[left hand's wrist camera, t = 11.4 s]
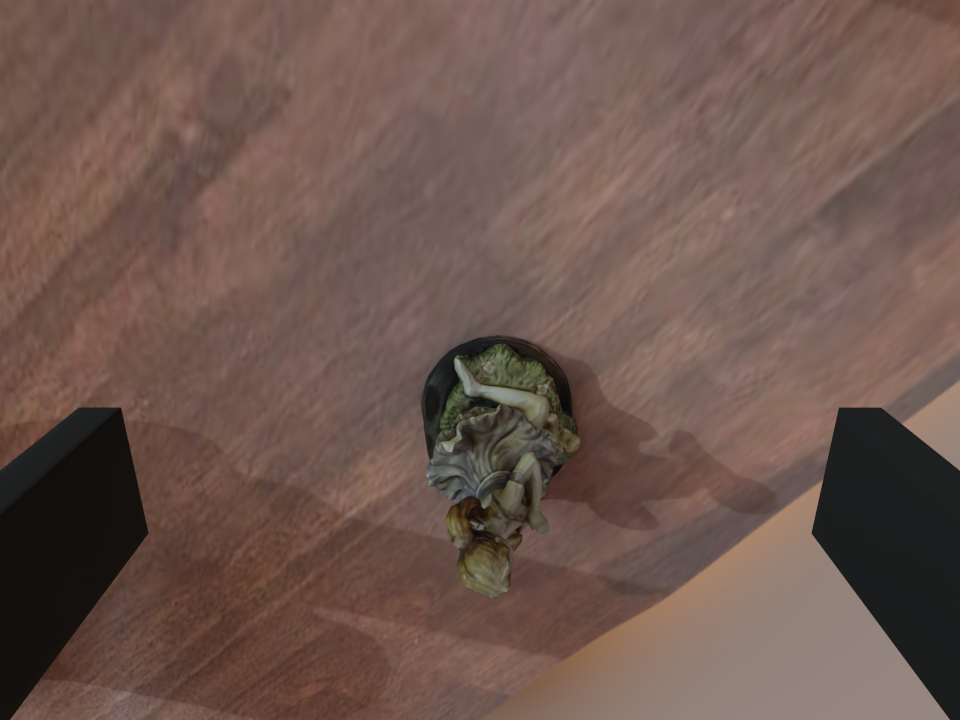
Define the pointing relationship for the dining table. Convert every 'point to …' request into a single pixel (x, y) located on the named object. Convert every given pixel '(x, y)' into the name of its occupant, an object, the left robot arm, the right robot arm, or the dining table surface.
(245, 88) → the dining table surface
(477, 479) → the figurine
